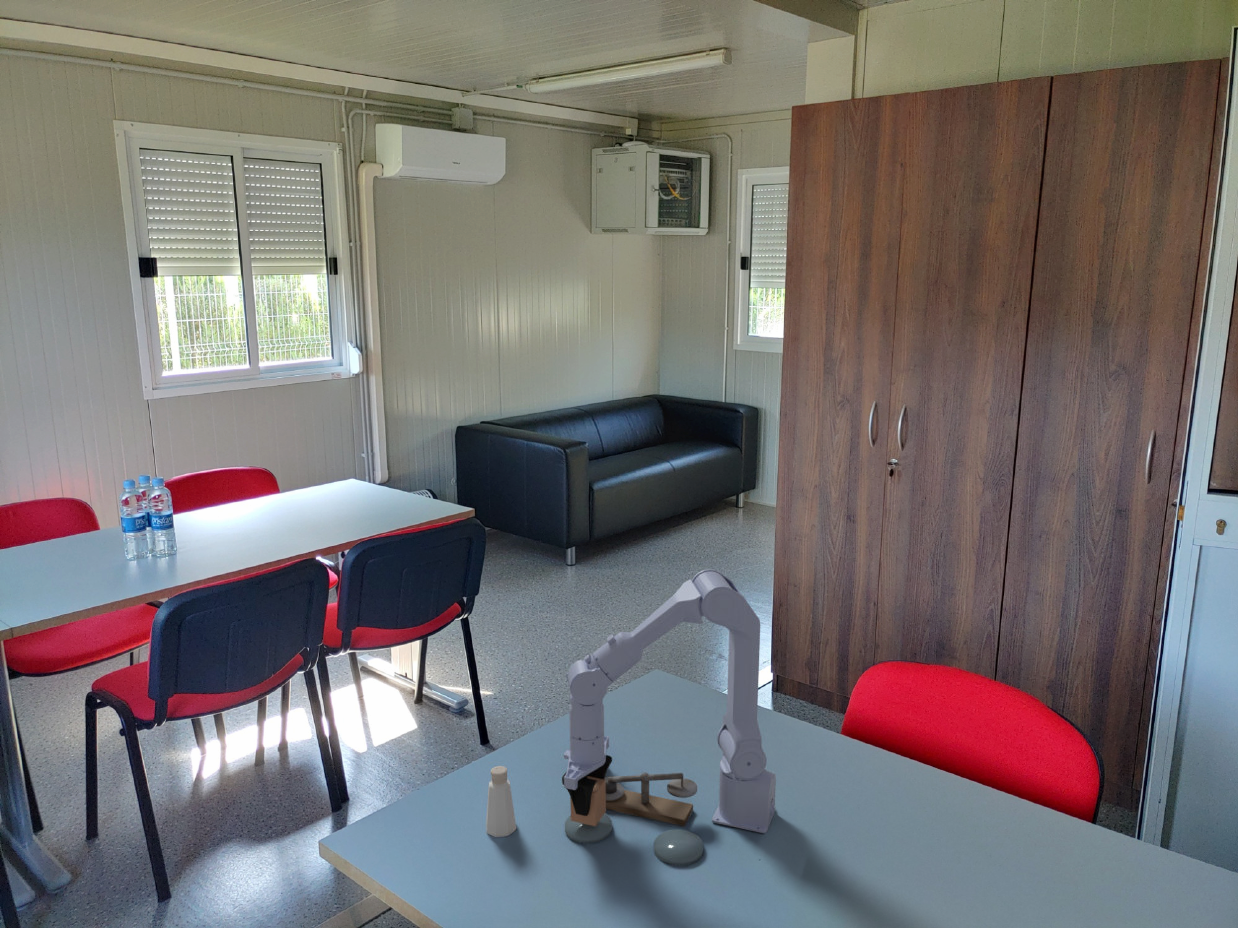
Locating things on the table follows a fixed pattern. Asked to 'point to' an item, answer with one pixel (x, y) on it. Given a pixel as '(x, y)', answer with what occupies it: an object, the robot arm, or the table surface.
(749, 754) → the robot arm
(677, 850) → the smooth grey pebble
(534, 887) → the table surface
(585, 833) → the grey dome
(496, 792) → the salt shaker
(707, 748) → the table surface
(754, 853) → the table surface
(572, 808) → the block
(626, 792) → the balance
